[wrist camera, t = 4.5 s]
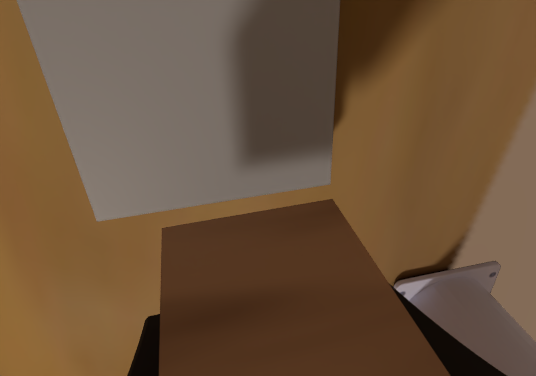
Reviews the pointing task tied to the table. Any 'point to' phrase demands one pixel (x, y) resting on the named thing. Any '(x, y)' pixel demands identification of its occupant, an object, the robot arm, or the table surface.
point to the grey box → (190, 96)
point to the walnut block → (282, 300)
